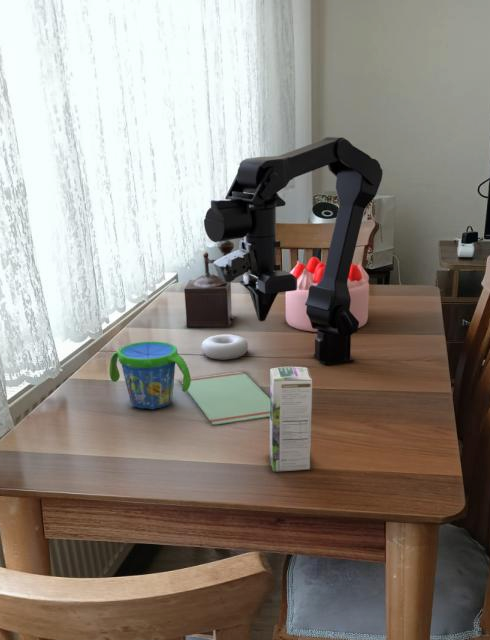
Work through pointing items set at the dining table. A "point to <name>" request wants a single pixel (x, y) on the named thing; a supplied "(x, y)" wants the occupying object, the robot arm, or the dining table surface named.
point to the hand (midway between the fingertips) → (261, 320)
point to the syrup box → (290, 418)
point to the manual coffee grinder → (209, 296)
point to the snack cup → (149, 372)
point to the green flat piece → (229, 398)
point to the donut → (224, 346)
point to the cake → (313, 276)
